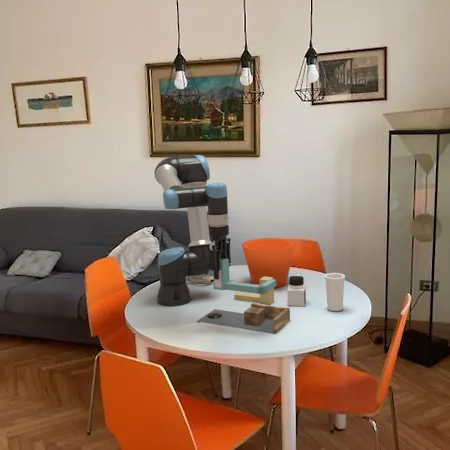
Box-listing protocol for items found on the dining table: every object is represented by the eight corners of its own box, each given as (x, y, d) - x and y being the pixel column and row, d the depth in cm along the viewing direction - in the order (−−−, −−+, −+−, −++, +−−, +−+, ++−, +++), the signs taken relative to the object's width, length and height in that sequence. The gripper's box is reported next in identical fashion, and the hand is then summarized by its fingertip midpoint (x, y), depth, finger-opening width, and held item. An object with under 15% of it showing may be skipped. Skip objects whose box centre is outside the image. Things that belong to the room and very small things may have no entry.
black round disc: (204, 318, 213) (204, 317, 213) (211, 313, 218) (211, 312, 218) (217, 320, 210) (217, 319, 210) (224, 315, 216) (224, 314, 215)
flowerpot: (296, 276, 264) (295, 237, 261) (295, 292, 240) (294, 249, 236) (246, 276, 268) (244, 238, 264) (240, 292, 244) (239, 250, 240)
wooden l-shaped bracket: (238, 327, 202) (237, 314, 201) (252, 316, 213) (252, 303, 212) (276, 334, 194) (276, 319, 193) (290, 321, 206) (289, 308, 205)
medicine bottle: (304, 306, 221) (304, 278, 219) (287, 306, 223) (287, 278, 221) (305, 300, 228) (305, 274, 226) (289, 300, 230) (288, 273, 227)
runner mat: (196, 322, 210) (196, 321, 210) (214, 310, 222) (214, 309, 222) (275, 335, 194) (275, 333, 194) (290, 321, 206) (290, 320, 206)
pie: (169, 281, 268) (169, 271, 267) (205, 269, 288) (205, 260, 287) (211, 290, 250) (211, 280, 249) (246, 276, 271) (246, 267, 270)
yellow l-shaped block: (274, 301, 229) (273, 277, 227) (269, 305, 225) (269, 280, 223) (238, 297, 237) (237, 273, 235) (233, 300, 233) (232, 276, 231)
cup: (332, 304, 222) (332, 271, 219) (349, 308, 217) (349, 275, 214) (321, 309, 217) (320, 276, 214) (337, 314, 211) (337, 279, 208)
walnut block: (244, 323, 205) (243, 311, 204) (251, 318, 210) (250, 306, 209) (258, 326, 202) (258, 313, 201) (265, 320, 207) (264, 308, 206)
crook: (213, 289, 201) (212, 261, 199) (228, 280, 211) (227, 253, 209) (263, 295, 191) (262, 265, 189) (276, 285, 201) (275, 257, 199)
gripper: (215, 230, 188) (218, 293, 192) (238, 221, 203) (240, 279, 207) (197, 229, 191) (201, 290, 196) (221, 220, 206) (224, 277, 211)
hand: (221, 285), depth 201 cm, fingers closed on crook, 4 cm apart
